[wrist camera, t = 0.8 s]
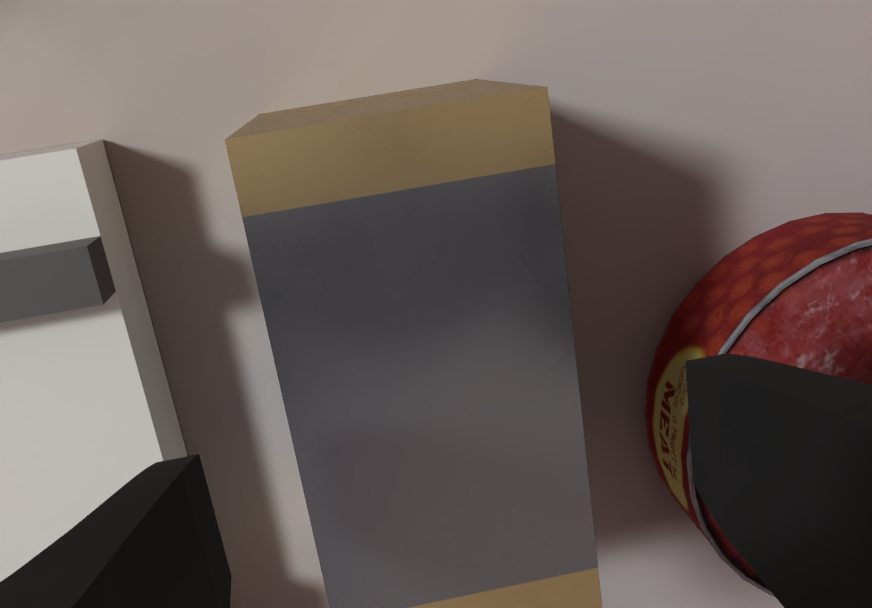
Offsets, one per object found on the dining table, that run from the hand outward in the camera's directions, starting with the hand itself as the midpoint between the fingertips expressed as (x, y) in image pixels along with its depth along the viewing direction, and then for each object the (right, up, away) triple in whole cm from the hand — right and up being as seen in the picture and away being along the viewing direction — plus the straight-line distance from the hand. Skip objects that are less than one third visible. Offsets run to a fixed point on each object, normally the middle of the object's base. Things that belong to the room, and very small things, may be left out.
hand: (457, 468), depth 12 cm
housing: (-1, +2, +8) cm, 9 cm away
